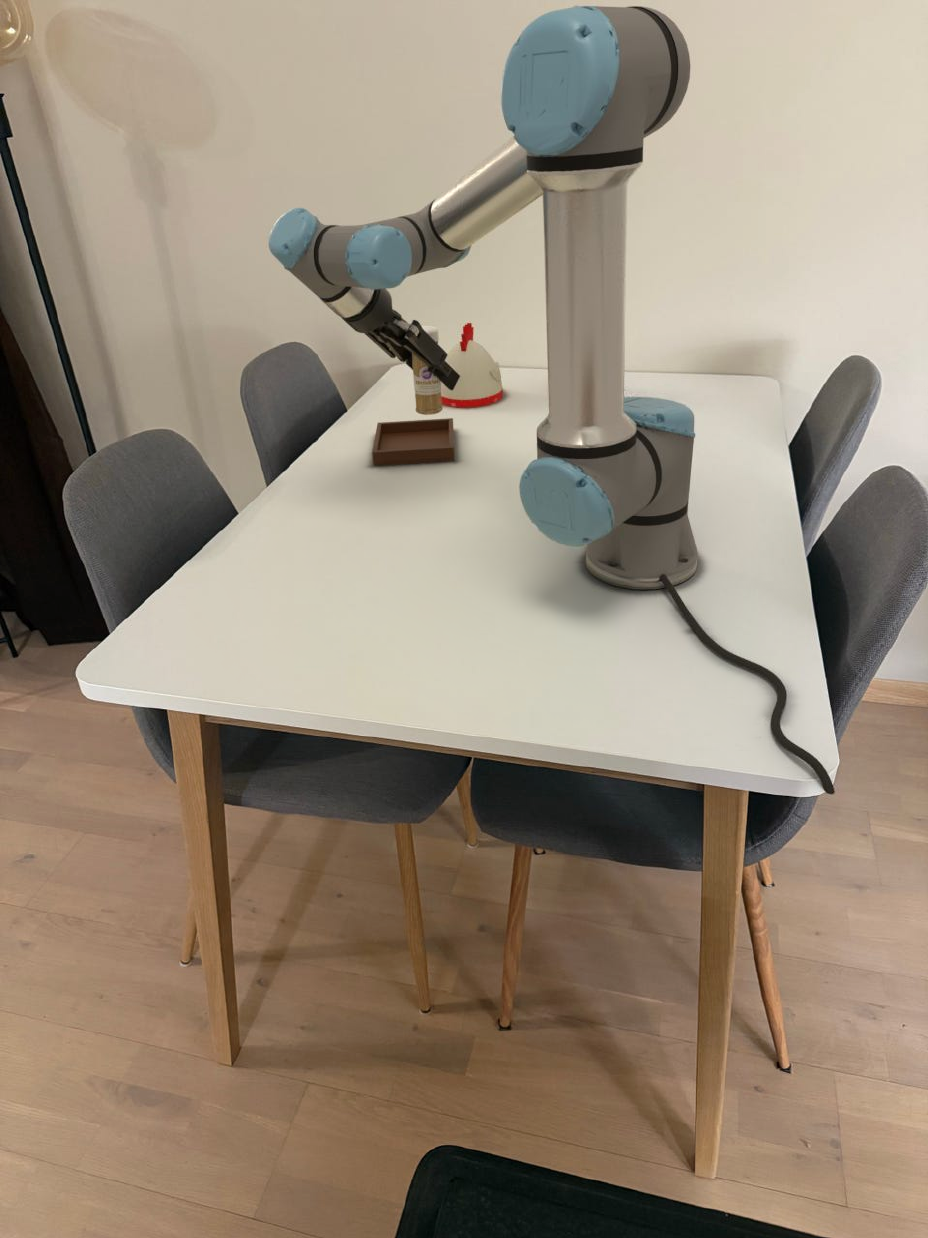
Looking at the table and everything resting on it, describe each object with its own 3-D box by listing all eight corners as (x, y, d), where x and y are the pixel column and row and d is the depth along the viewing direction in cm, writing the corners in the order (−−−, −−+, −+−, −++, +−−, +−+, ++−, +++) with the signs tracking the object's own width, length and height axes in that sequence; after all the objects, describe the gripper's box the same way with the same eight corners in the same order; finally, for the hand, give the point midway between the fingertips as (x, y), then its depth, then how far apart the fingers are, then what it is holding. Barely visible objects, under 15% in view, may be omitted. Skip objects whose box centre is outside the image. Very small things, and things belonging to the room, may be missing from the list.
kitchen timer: (508, 387, 197) (506, 316, 189) (494, 408, 185) (491, 334, 178) (447, 385, 200) (442, 316, 192) (430, 406, 189) (424, 333, 181)
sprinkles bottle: (419, 417, 147) (413, 333, 140) (412, 408, 151) (405, 326, 144) (446, 413, 148) (441, 329, 141) (438, 404, 152) (433, 323, 145)
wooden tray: (454, 460, 162) (453, 447, 161) (373, 465, 163) (372, 452, 161) (453, 430, 176) (452, 417, 174) (379, 435, 176) (377, 422, 174)
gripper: (409, 280, 126) (493, 368, 144) (330, 268, 136) (417, 352, 155) (385, 327, 125) (472, 410, 144) (308, 311, 136) (398, 390, 154)
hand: (443, 379), depth 149 cm, fingers closed on sprinkles bottle, 4 cm apart
